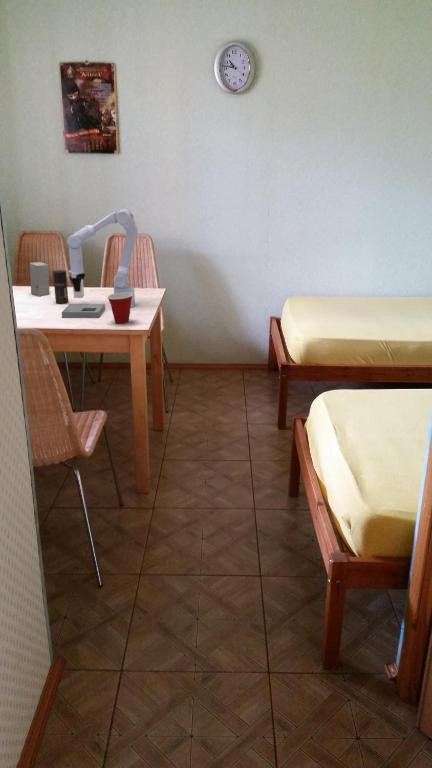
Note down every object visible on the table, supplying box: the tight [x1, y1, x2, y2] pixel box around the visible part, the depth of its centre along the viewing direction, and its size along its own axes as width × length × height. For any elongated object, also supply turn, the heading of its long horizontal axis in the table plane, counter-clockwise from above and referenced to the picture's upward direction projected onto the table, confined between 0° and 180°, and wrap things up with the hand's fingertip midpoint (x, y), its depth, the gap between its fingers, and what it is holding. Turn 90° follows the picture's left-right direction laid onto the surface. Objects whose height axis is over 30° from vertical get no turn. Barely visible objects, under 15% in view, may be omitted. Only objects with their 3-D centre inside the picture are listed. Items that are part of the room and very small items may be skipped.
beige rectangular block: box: [72, 279, 85, 299], centre depth 288 cm, size 4×4×8 cm
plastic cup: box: [106, 292, 133, 325], centre depth 262 cm, size 11×11×12 cm
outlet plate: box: [61, 303, 106, 319], centre depth 277 cm, size 16×16×2 cm
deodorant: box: [52, 269, 69, 305], centre depth 295 cm, size 6×6×15 cm
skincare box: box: [29, 261, 51, 297], centre depth 312 cm, size 8×7×16 cm
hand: (78, 290), depth 288 cm, fingers closed on beige rectangular block, 4 cm apart
